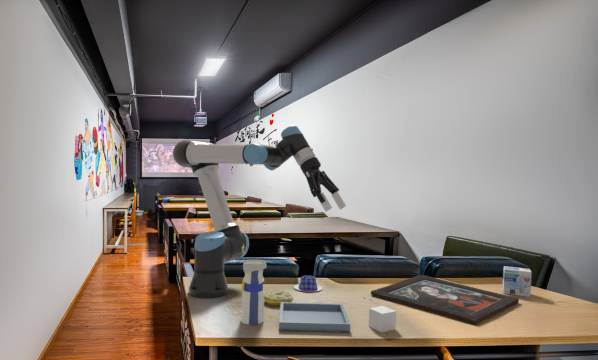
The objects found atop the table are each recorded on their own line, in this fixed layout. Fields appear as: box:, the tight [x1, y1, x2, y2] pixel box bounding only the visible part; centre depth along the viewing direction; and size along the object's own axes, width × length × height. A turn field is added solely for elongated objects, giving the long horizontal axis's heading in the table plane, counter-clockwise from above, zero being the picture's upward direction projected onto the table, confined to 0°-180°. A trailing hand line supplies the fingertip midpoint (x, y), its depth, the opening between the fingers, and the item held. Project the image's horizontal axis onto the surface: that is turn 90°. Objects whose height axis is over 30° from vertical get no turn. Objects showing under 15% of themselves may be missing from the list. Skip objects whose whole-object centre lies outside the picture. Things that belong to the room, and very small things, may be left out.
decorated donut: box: [264, 290, 294, 307], centre depth 158 cm, size 10×11×4 cm
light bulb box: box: [502, 265, 533, 298], centre depth 182 cm, size 11×7×11 cm, turn 68°
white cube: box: [368, 305, 397, 333], centre depth 135 cm, size 6×6×6 cm
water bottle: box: [240, 244, 268, 326], centre depth 137 cm, size 8×9×25 cm
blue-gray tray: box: [278, 301, 351, 334], centre depth 140 cm, size 22×20×3 cm
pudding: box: [293, 275, 323, 293], centre depth 178 cm, size 12×12×5 cm
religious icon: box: [370, 274, 520, 326], centre depth 170 cm, size 40×45×3 cm
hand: (336, 208), depth 156 cm, fingers open, 13 cm apart
